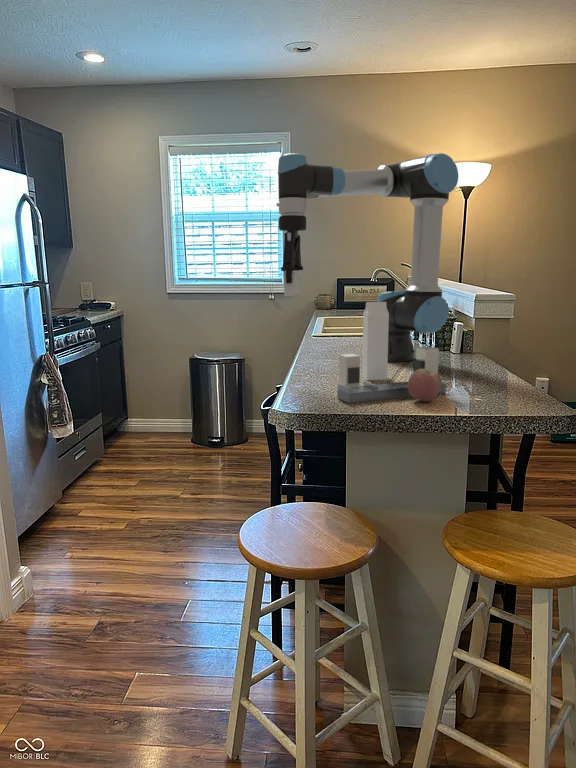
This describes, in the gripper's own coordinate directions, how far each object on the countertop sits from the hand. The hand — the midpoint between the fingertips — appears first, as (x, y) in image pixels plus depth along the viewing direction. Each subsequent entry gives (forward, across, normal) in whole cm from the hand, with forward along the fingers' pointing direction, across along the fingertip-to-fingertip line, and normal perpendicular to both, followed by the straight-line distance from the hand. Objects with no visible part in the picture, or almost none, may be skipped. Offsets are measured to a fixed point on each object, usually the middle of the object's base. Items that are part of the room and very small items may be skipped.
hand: (292, 294), depth 158 cm
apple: (+24, +22, +35) cm, 48 cm away
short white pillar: (+24, +9, +16) cm, 31 cm away
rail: (+24, +17, +28) cm, 40 cm away
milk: (+24, -5, +23) cm, 34 cm away
